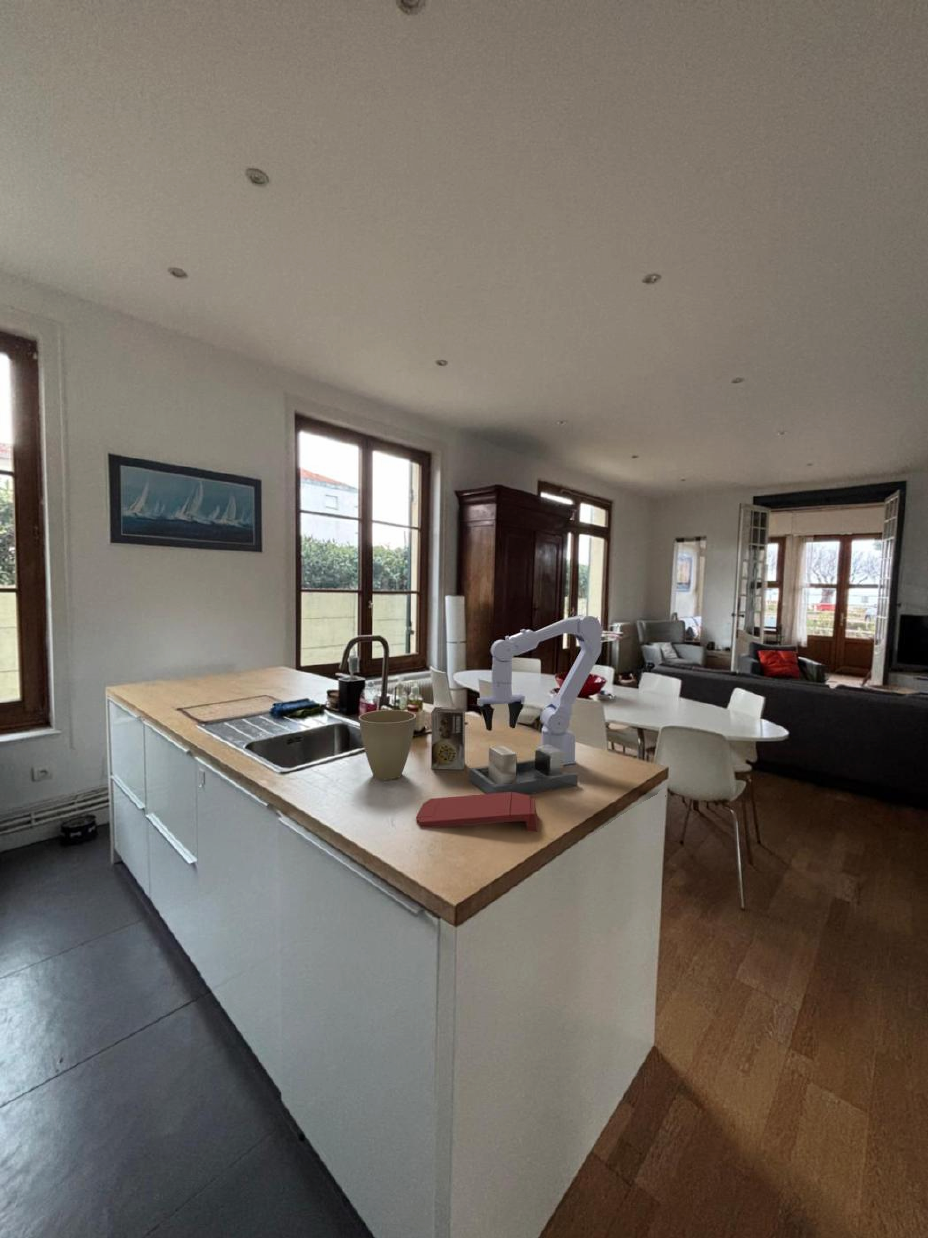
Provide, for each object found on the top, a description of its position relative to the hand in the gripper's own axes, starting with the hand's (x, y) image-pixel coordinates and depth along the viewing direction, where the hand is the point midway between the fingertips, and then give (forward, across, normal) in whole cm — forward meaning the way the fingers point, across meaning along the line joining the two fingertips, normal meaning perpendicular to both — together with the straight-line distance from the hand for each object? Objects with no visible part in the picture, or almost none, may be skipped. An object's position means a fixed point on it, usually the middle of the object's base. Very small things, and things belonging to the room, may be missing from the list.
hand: (500, 728), depth 145 cm
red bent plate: (+11, +22, +30) cm, 39 cm away
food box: (+10, +15, -3) cm, 18 cm away
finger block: (+9, +8, +16) cm, 20 cm away
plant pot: (+10, +33, -2) cm, 35 cm away
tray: (+10, +2, +16) cm, 19 cm away
